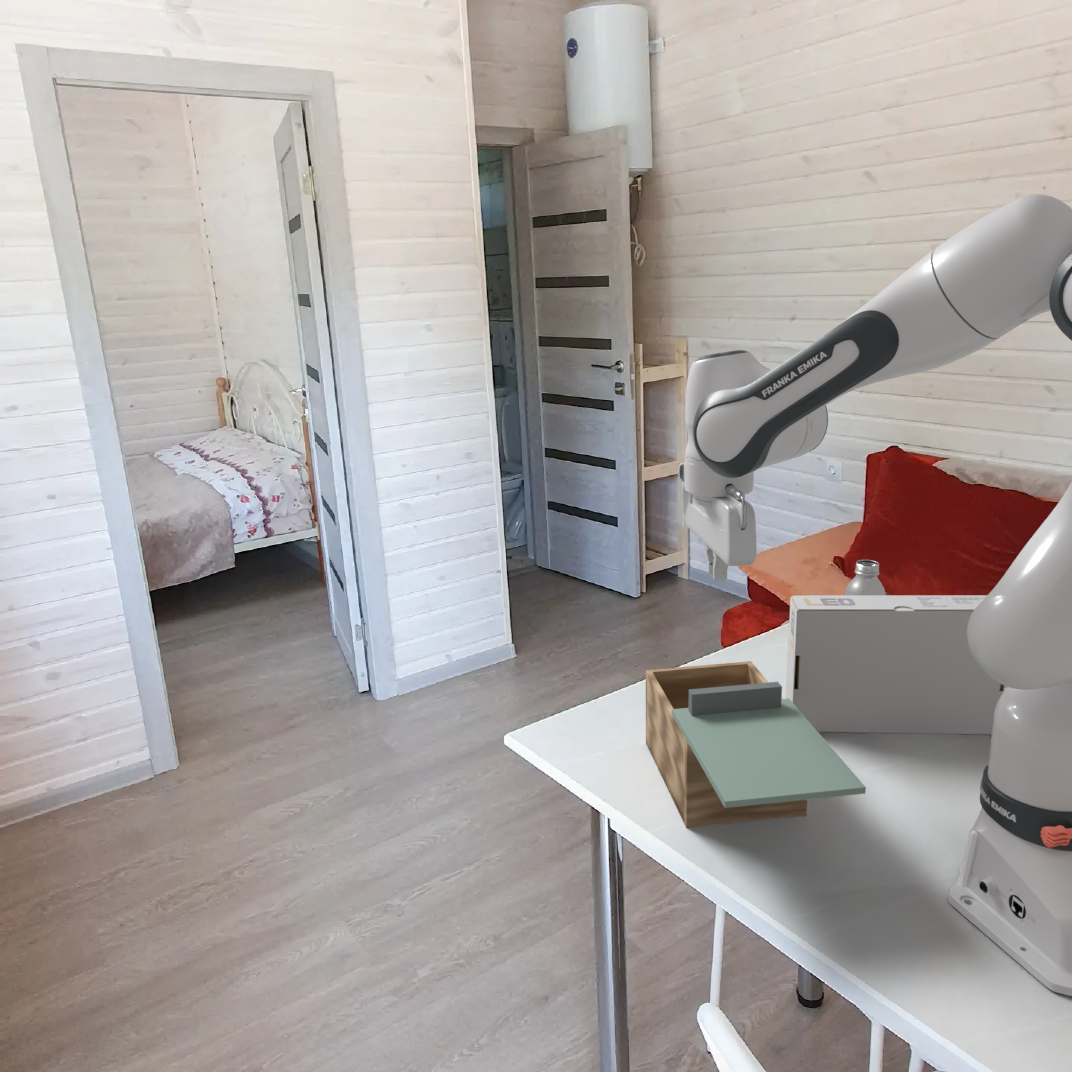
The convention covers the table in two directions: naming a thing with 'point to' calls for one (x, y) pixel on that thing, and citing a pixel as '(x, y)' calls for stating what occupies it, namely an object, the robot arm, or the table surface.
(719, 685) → the wooden box
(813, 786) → the lid
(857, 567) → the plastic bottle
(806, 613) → the packaging
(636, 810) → the table surface
